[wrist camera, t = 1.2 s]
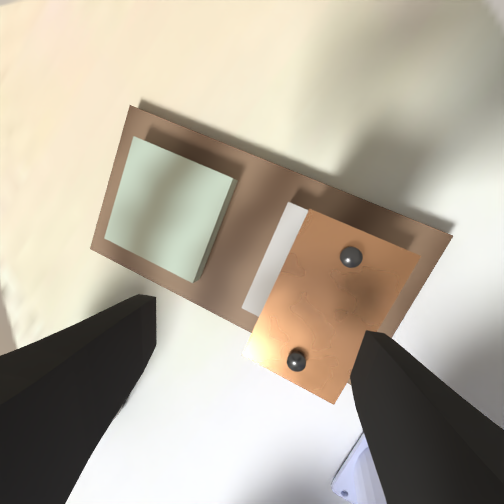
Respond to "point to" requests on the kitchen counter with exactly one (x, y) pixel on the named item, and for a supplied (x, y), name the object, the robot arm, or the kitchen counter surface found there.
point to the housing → (327, 303)
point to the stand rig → (229, 220)
